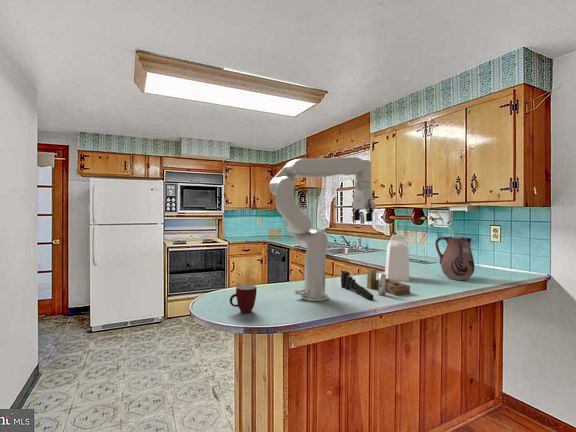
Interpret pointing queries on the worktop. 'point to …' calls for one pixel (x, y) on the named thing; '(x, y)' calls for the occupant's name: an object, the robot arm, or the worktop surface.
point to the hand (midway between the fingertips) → (362, 220)
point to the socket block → (395, 287)
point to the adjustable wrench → (354, 285)
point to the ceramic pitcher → (456, 258)
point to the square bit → (371, 278)
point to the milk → (397, 259)
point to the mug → (245, 297)
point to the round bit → (382, 284)
